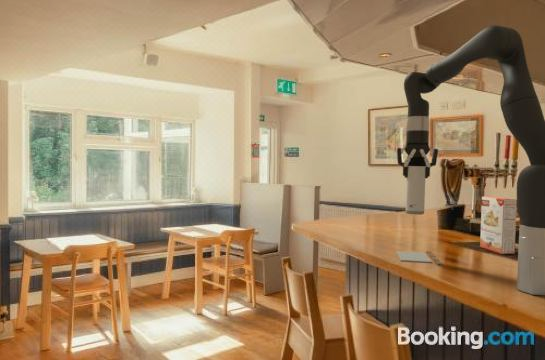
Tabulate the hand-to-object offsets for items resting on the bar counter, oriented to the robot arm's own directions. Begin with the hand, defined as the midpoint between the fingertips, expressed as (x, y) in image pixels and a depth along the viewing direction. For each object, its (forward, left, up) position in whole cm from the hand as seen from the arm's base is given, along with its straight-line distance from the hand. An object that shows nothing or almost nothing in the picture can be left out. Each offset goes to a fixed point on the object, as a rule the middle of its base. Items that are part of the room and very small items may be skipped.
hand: (416, 177), depth 160 cm
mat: (0, 0, -28) cm, 28 cm away
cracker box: (+23, -34, -28) cm, 50 cm away
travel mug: (0, 0, -13) cm, 13 cm away
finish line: (0, -7, -28) cm, 29 cm away
